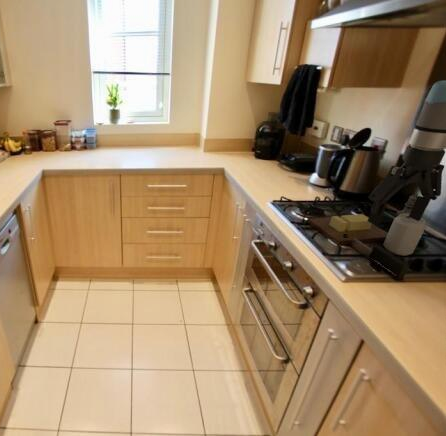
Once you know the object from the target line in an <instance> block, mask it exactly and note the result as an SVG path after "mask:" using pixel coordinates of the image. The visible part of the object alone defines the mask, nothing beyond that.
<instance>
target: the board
mask: <svg viewBox="0 0 446 436" xmlns="http://www.w3.org/2000/svg"><path fill="white" fill-rule="evenodd" d="M337 216H338V217H340V218H341V216H342V215H340V216H339V215H337ZM331 218H332V216H326V217H312V218H311V217H310V218H307V220H306V222H307V224H308V225H310V226H312V227H313V228H314V229H315V230H317V231H318V232H319V233H321V234H322V235H324V237H326V238H328V239H329V240H330V241H331V242H333V244H336V245H337V246H338V245H339V246H342V245H351V243H352V241H353V238H355V239H357V240H358V241H360V242H361V243H363V244H364V243H375V242H384V241H385V239H386V237H387V234H388V232H387V231H385V230H383V229H382V228H380V227H379V226H378V225H374V224H372V225H371V228H370V229H366V230H354V231H348V230H347V229H345V231H341V232H339V231H337V230H336V229H335V228H333V227H332V226H330V225H329V224H330V221H331ZM344 234H347V235H348V236H349V237H348V238H344V237H343V235H344ZM337 241H338V242H337ZM341 241H349V242H341Z"/></svg>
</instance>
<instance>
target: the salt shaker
mask: <svg viewBox="0 0 446 436" xmlns="http://www.w3.org/2000/svg"><path fill="white" fill-rule="evenodd" d="M418 196H419V195H418V193H415V194H413V195H410V196H409V198H408V200H407V201H406V203H404V205H405V206H404V208H403V209H402V210H397V212H396V214H397V215H396V217H398V216H399V215H400V214H404V213H406V214H410V212H411V210H412V208H413V206H414V204H415V202H416V199H417V197H418Z"/></svg>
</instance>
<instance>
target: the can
mask: <svg viewBox="0 0 446 436" xmlns="http://www.w3.org/2000/svg"><path fill="white" fill-rule="evenodd" d="M426 228H427V225H426V220H425V218H423V217H421V219H420V221H417V220H415V219H412V218H410V217H409V214H406V213H404V214H400V215H399V216H398V217H397V216H396V217H394V218H393V221H392V223H391V225H390V228H389V230H388V232H387V233H388V234H387V237H386V239H385V241H383V244H382V245H383V247H384V249H385V250H387V251H388V252H390V253H391V254H393V255H397V256H403V257H404V256H409V255H410V256H411V255H413V254H414V252H415V250H416V248H417V246H418V244H419V242H420V240H421V238H422V236H423V234H424V232H425V230H426Z"/></svg>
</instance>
